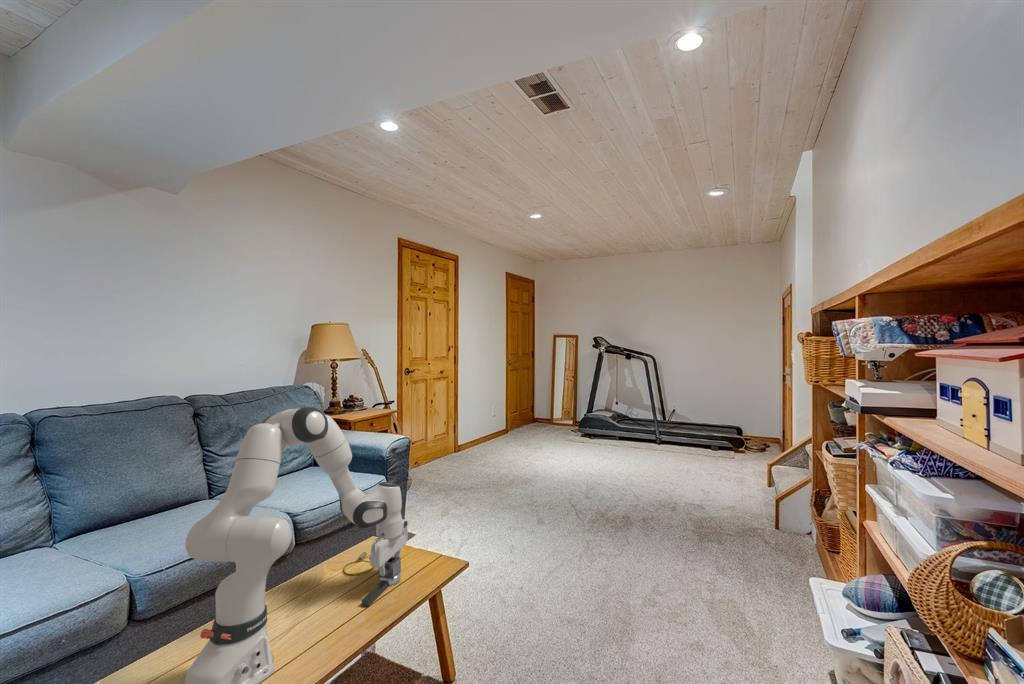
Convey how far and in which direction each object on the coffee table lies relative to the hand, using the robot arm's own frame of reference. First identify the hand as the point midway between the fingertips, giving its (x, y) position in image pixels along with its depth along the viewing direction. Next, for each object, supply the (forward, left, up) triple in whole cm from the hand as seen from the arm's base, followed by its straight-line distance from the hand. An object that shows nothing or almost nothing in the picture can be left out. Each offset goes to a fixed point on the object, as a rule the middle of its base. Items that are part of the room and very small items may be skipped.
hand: (390, 568), depth 162 cm
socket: (0, 0, -2) cm, 2 cm away
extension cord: (+8, +16, -5) cm, 19 cm away
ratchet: (-6, 0, -5) cm, 8 cm away
